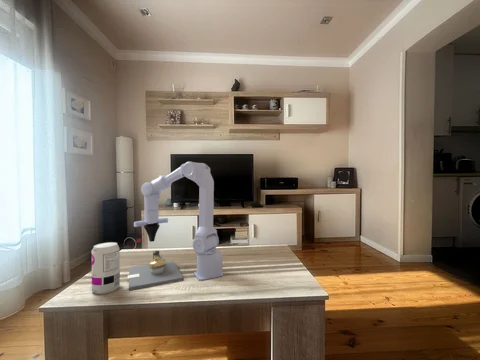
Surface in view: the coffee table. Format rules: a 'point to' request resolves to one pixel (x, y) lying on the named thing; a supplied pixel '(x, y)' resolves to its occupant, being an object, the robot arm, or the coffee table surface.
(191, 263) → the coffee table surface
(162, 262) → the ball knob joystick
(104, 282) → the supplement can
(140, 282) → the plate
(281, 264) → the coffee table surface
